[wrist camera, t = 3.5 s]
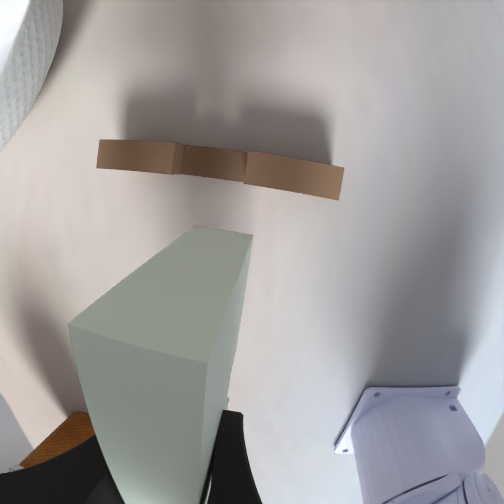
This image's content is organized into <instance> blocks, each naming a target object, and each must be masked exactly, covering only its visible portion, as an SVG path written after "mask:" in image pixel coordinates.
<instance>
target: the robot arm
mask: <svg viewBox="0 0 504 504" xmlns="http://www.w3.org/2000/svg"><path fill="white" fill-rule="evenodd" d="M460 391H461V389H460V388H459V386H449V387H422V388H387V387H370V388H367V389H366V390H365V391H364V393H363V395H362V397H361V399H360V401H359V403H358V405H357V407H356V409H355V411H354V413H353V415H352V417H351V419H350V421H349V422H348V424H347V426H346V428H345V430H344V432H343V433H342V435H341V437H340V439H339V441H338V442H337V444H336V446H335V448H334V452H335V453H337V454H354V455H355V460H356V465H357V470H358V475H359V480H360V486H361V491H362V497H363V503H364V504H504V499H503V498H502V496H501V493H500V492H499V490H498V488H497V487H496V485H495V484H494V482H493V481H492V480H491V478H490V477H489V476H488V475H487V474H485V473H481V472H482V470H483V467H484V463H485V448H484V444H483V441H482V439H481V437H480V435H479V434H478V432H477V430H476V428H475V427H474V425H473V423H472V422H471V420H470V419H469V417H468V415H467V414H466V412H465V410H464V409H463V407H462V406H461V404H460V402H459V401H458V399H457V396H458V395H459V393H460ZM375 393H377V394H375ZM0 504H125V502H124V500H123V498H122V496H121V494H120V492H119V490H118V488H117V486H116V483H115V481H114V479H113V477H112V475H111V472H110V470H109V468H108V465H107V463H106V460H105V458H104V455H103V453H102V450H101V448H100V445H99V442H98V439H97V437H96V434H94V435H92V436H91V437H89V438H88V439H86V440H85V441H83V442H82V443H80V444H78V445H77V446H75V447H73V448H71V449H69V450H68V451H66V452H64V453H62V454H60V455H58V456H55V457H53V458H51V459H49V460H46V461H44V462H41V463H39V464H36V465H33V466H30V467H26V468H23V469H19V470H16V471H12V472H8V473H2V474H0ZM207 504H262V502H261V499H260V496H259V494H258V491H257V488H256V485H255V482H254V479H253V476H252V472H251V469H250V465H249V461H248V456H247V452H246V447H245V440H244V432H243V414H242V413H241V412H235V411H229V410H223V411H222V415H221V418H220V422H219V426H218V430H217V435H216V443H215V452H214V460H213V469H212V478H211V487H210V492H209V496H208V501H207Z"/></svg>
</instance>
